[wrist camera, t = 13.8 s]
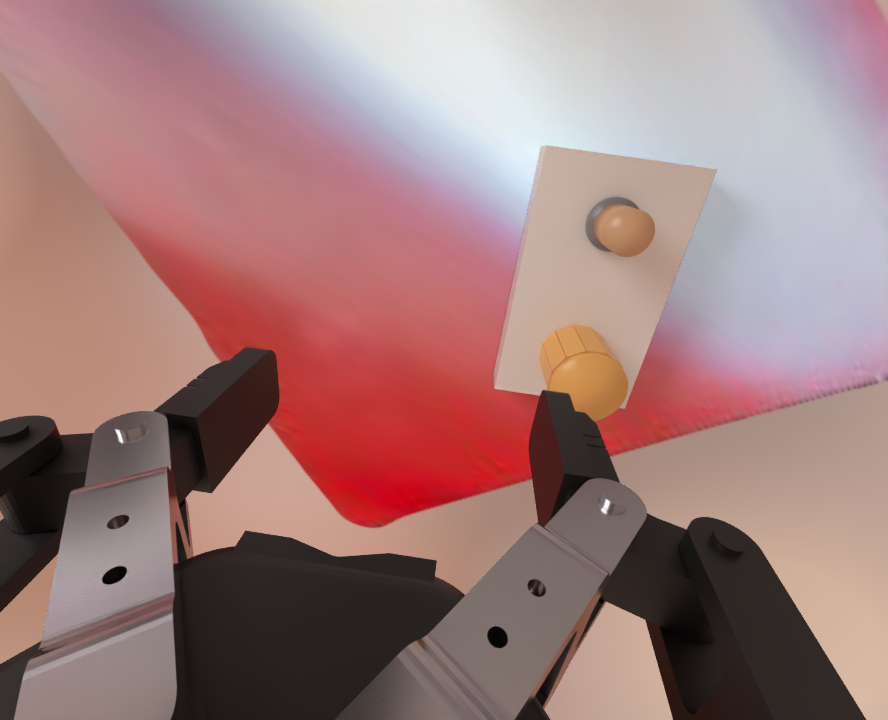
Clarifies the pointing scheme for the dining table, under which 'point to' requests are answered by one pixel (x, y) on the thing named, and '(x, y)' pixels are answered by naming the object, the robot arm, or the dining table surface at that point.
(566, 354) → the cap
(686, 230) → the plate with orange knobs
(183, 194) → the dining table surface
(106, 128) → the dining table surface
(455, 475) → the dining table surface
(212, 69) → the dining table surface
